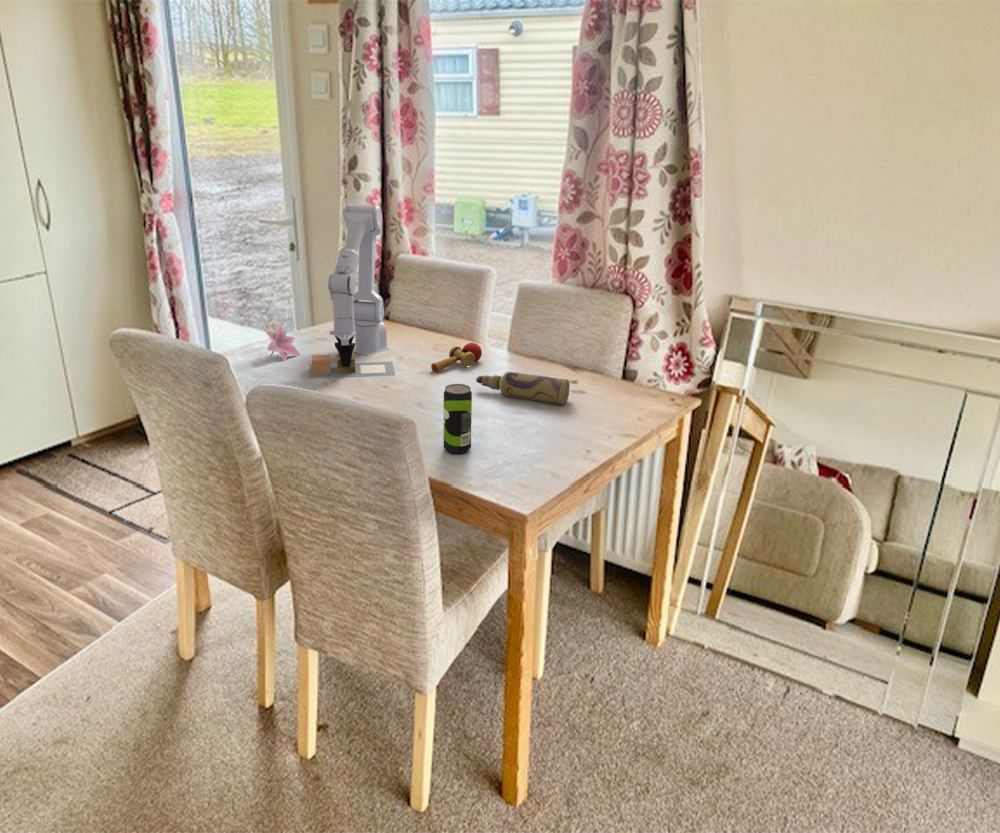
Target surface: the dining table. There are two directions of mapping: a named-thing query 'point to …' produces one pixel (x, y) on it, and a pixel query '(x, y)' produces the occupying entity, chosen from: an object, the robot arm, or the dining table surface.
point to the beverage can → (457, 418)
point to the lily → (281, 342)
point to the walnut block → (346, 369)
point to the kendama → (460, 357)
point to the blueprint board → (358, 370)
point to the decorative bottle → (529, 386)
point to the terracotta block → (320, 364)
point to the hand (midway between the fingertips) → (346, 362)
